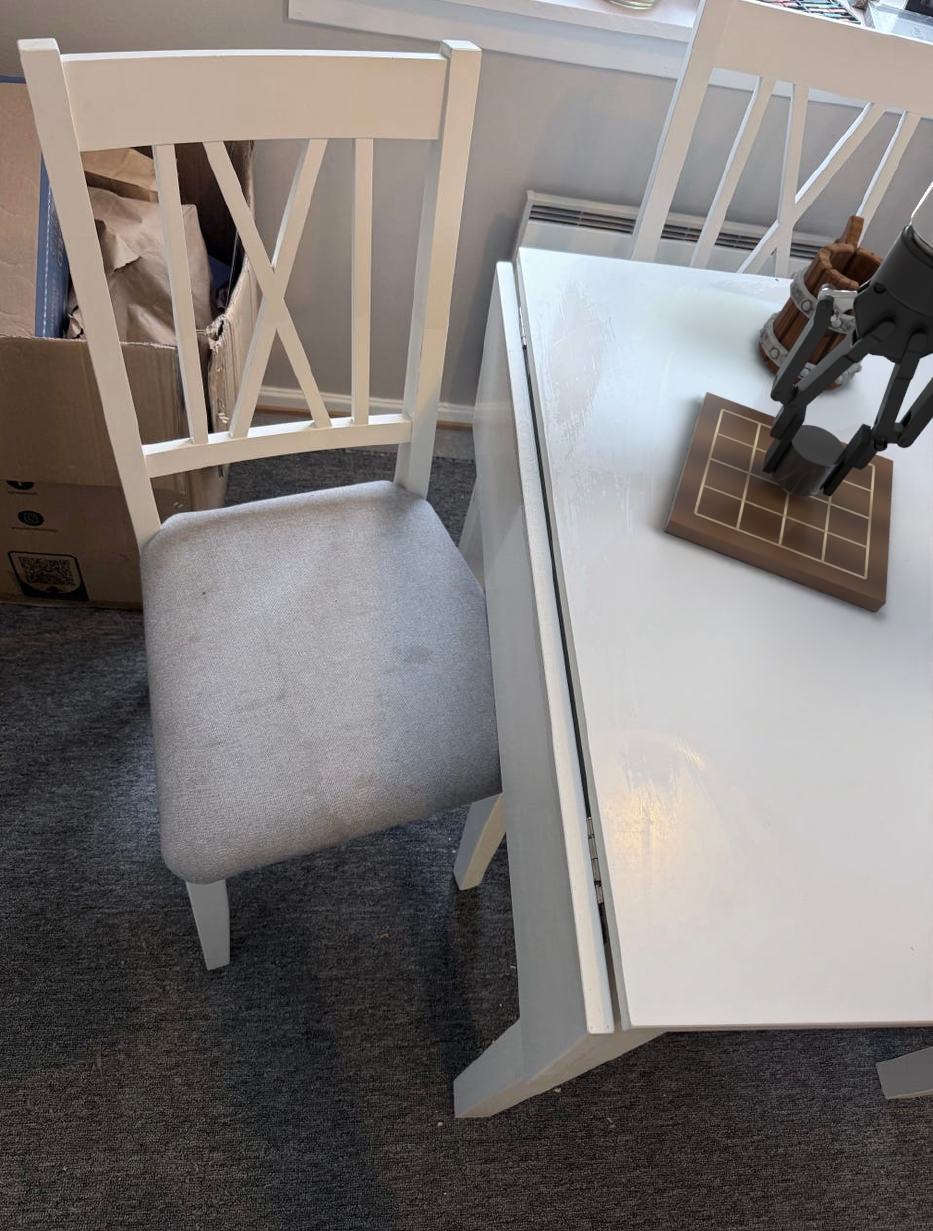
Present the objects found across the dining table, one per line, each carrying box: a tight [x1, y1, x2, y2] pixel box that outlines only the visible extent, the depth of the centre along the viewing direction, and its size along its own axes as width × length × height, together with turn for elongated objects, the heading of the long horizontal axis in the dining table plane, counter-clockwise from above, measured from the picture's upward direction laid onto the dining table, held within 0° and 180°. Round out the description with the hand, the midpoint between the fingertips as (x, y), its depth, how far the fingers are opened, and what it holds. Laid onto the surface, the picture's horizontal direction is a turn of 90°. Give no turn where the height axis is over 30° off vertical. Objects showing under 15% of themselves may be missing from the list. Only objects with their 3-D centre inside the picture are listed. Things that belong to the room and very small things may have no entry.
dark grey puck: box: [771, 424, 845, 496], centre depth 77 cm, size 5×5×4 cm
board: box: [664, 391, 894, 613], centre depth 80 cm, size 20×20×2 cm
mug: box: [758, 214, 884, 392], centre depth 91 cm, size 12×14×15 cm
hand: (798, 474), depth 78 cm, fingers closed on dark grey puck, 5 cm apart
